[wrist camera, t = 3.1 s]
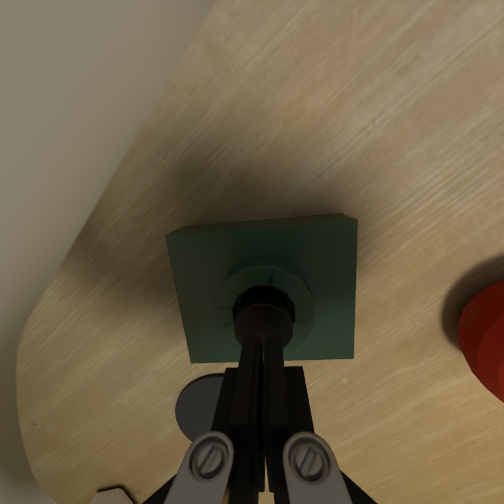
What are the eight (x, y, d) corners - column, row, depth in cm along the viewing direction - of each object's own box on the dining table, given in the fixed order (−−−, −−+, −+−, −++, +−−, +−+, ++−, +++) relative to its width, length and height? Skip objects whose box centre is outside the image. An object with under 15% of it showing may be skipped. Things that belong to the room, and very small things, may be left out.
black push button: (241, 334, 15) (237, 356, 13) (235, 288, 14) (230, 305, 12) (290, 332, 15) (294, 354, 13) (288, 285, 14) (291, 302, 12)
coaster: (185, 450, 25) (184, 454, 24) (167, 374, 22) (166, 378, 22) (279, 451, 24) (279, 455, 24) (272, 372, 21) (272, 375, 21)
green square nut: (202, 337, 21) (182, 383, 16) (182, 226, 18) (151, 241, 13) (340, 331, 20) (363, 379, 15) (341, 213, 17) (370, 224, 12)
